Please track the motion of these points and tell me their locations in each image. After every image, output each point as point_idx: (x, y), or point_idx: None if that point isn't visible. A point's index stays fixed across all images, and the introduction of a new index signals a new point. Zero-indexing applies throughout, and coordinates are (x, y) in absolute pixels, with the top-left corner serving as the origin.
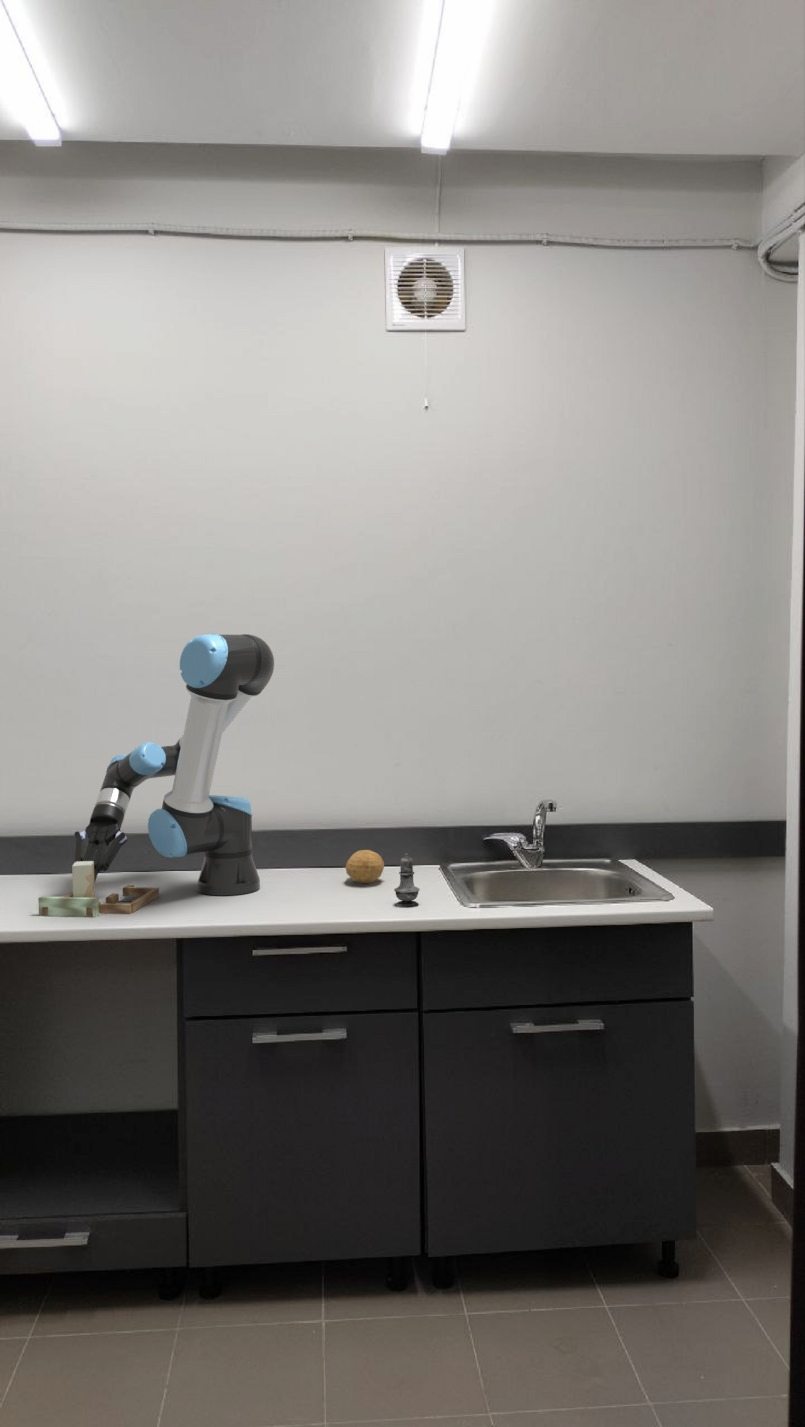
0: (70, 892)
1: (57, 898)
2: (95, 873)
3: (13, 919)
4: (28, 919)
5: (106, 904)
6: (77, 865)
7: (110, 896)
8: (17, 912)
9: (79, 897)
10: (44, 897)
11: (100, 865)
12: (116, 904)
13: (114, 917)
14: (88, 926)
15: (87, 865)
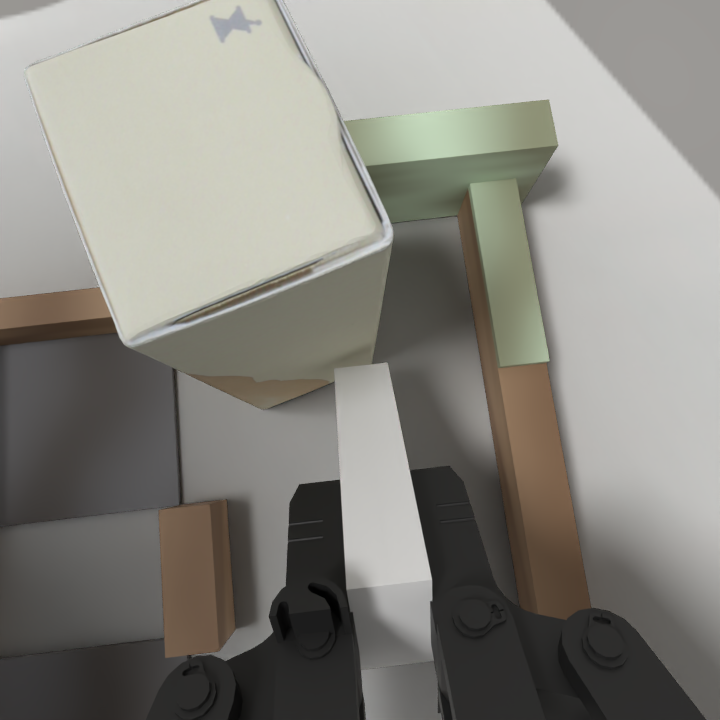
0: (590, 606)
1: (396, 116)
2: (289, 578)
3: (602, 72)
4: (516, 89)
5: (92, 288)
6: (205, 5)
7: (183, 537)
8: (699, 217)
9: None
10: (512, 119)
11: (222, 664)
12: (20, 303)
13: (28, 229)
14: (90, 27)
15: (71, 51)
